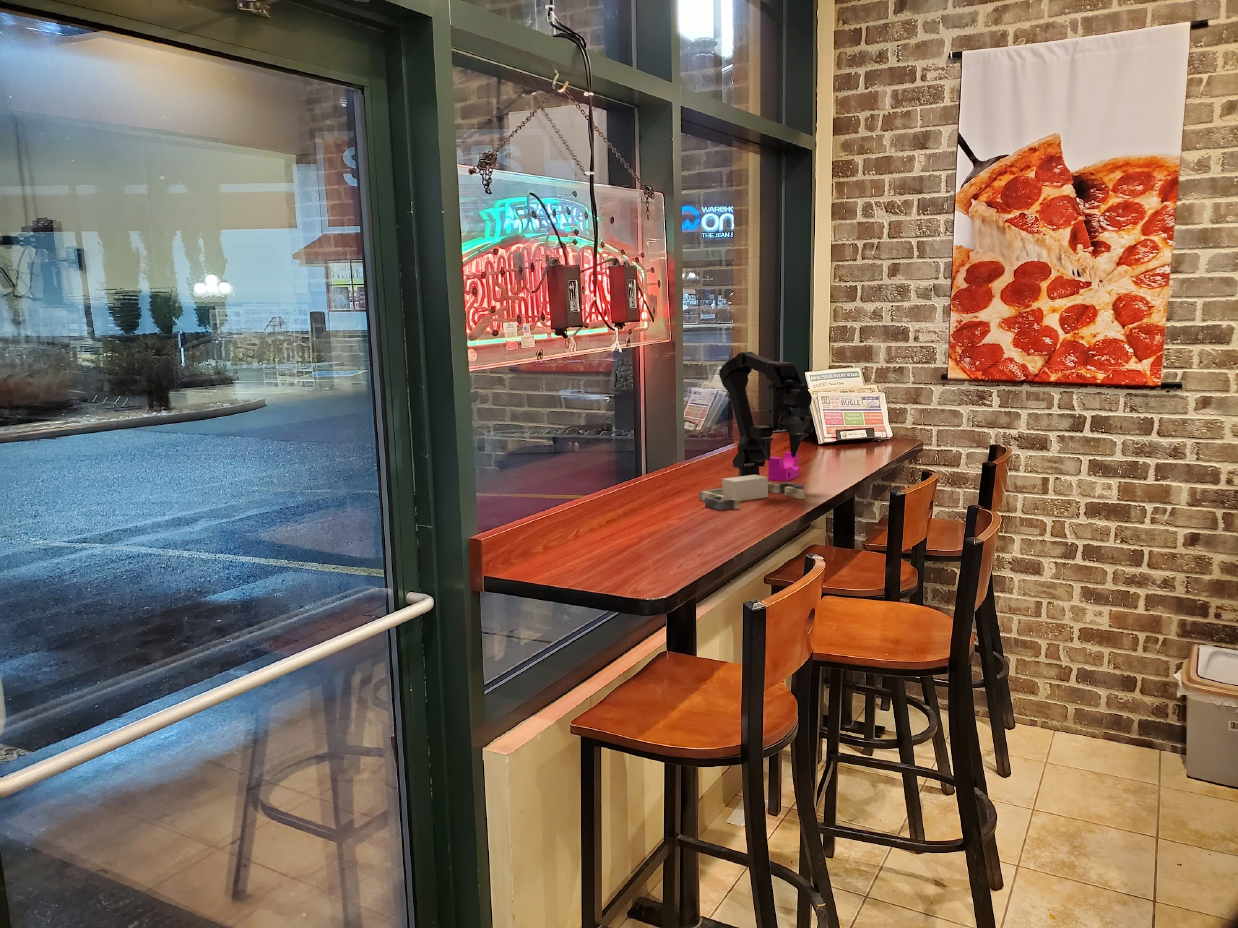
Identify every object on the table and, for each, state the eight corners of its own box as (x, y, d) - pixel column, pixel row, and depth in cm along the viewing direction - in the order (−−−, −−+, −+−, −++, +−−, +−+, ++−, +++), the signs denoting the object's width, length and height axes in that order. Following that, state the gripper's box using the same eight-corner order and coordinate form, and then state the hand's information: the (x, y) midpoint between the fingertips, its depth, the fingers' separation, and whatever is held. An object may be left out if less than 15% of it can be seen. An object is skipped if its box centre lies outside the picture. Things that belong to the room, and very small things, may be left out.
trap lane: (686, 501, 269) (686, 492, 269) (778, 488, 286) (778, 480, 285) (722, 511, 254) (722, 502, 254) (816, 496, 271) (816, 488, 271)
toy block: (786, 482, 296) (786, 459, 295) (768, 481, 300) (768, 458, 298) (804, 475, 309) (805, 452, 307) (787, 474, 312) (787, 451, 311)
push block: (722, 499, 272) (722, 478, 271) (755, 494, 278) (755, 474, 277) (734, 502, 267) (734, 481, 266) (767, 497, 273) (767, 477, 272)
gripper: (772, 410, 260) (772, 466, 263) (825, 406, 269) (823, 459, 271) (749, 407, 270) (748, 460, 273) (800, 402, 278) (799, 454, 281)
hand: (780, 458), depth 274 cm, fingers open, 9 cm apart
